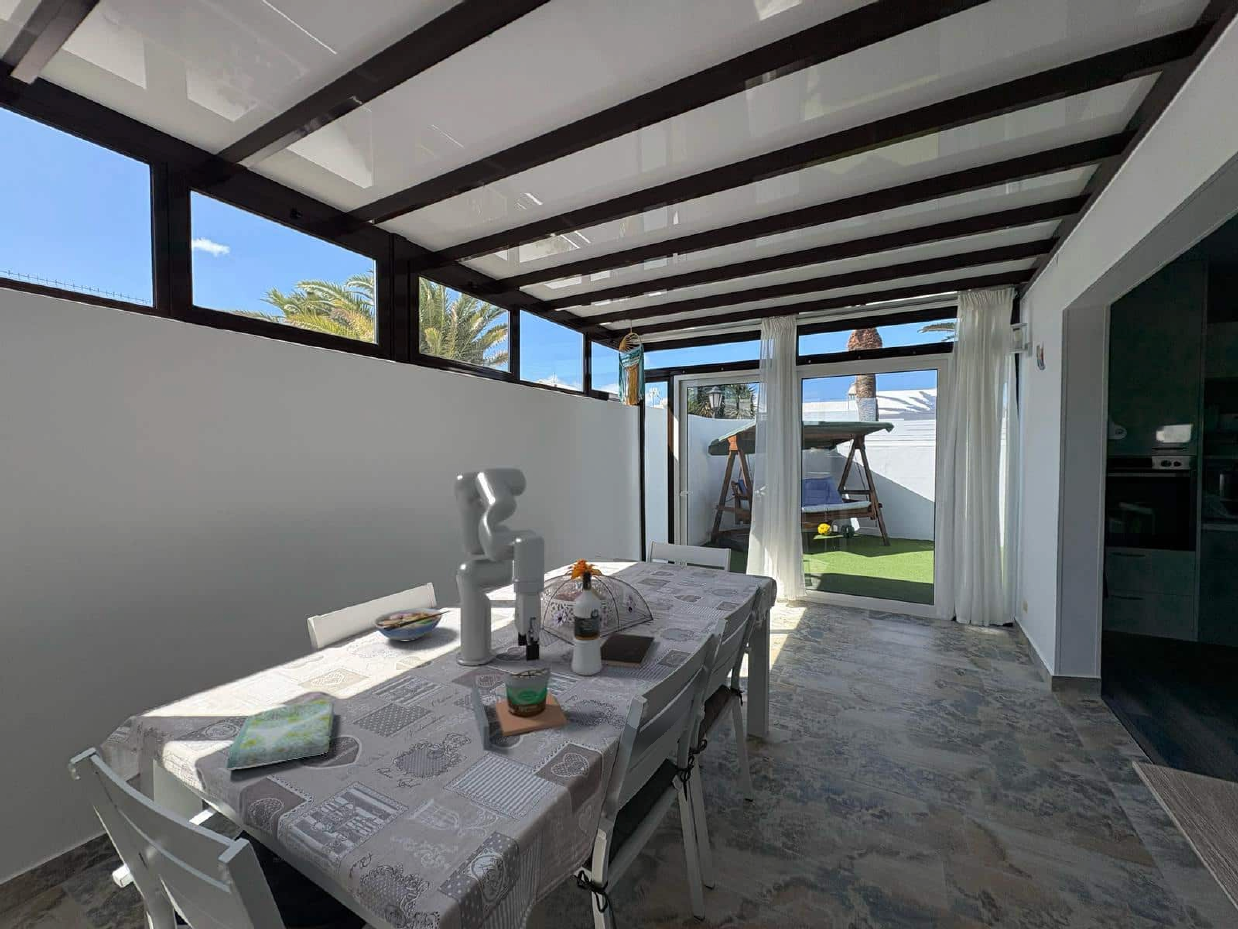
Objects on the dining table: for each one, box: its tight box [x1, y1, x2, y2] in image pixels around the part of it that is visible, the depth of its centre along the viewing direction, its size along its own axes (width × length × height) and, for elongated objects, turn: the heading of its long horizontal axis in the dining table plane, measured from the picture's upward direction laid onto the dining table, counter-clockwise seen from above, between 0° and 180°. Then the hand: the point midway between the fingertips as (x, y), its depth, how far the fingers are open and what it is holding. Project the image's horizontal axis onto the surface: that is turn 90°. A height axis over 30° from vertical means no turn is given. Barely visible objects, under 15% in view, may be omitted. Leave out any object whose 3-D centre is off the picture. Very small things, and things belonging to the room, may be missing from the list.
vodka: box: [571, 570, 603, 676], centre depth 154 cm, size 9×9×30 cm
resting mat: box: [493, 692, 568, 737], centre depth 127 cm, size 15×15×1 cm
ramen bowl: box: [373, 607, 451, 641], centre depth 181 cm, size 25×23×8 cm
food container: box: [502, 664, 552, 718], centre depth 126 cm, size 12×6×10 cm, turn 116°
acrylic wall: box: [471, 684, 490, 750], centre depth 123 cm, size 22×1×5 cm, turn 22°
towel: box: [226, 699, 335, 768], centre depth 115 cm, size 18×21×5 cm
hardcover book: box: [600, 632, 655, 668], centre depth 168 cm, size 16×23×2 cm
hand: (528, 652), depth 128 cm, fingers open, 9 cm apart
